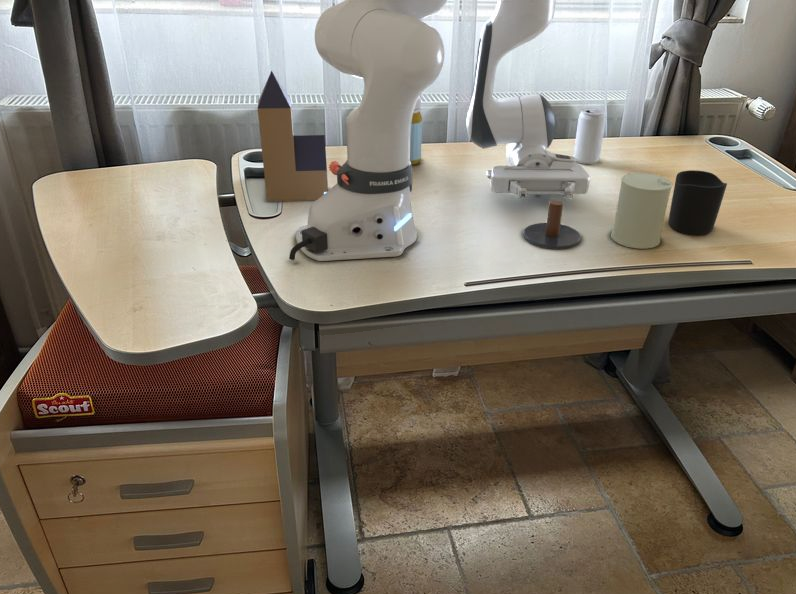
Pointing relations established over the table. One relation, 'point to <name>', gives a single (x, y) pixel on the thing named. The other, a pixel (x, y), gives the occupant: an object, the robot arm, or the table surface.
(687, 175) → the pen holder
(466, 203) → the table surface
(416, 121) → the bottle
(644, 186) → the can
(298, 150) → the toy building blocks
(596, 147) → the beverage can
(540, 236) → the lid
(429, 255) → the table surface
